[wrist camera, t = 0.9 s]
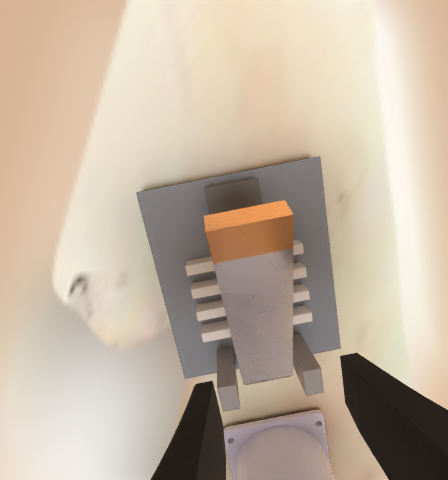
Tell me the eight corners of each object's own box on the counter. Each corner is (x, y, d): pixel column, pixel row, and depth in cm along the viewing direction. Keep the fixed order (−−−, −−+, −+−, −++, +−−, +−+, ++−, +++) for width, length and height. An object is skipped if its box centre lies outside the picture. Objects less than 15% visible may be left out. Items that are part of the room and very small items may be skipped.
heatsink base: (331, 336, 20) (369, 386, 15) (187, 364, 20) (178, 423, 15) (310, 158, 17) (350, 149, 12) (142, 191, 17) (114, 195, 12)
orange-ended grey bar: (287, 363, 17) (292, 378, 16) (241, 372, 17) (244, 388, 16) (284, 200, 10) (293, 214, 9) (203, 216, 10) (205, 231, 9)
